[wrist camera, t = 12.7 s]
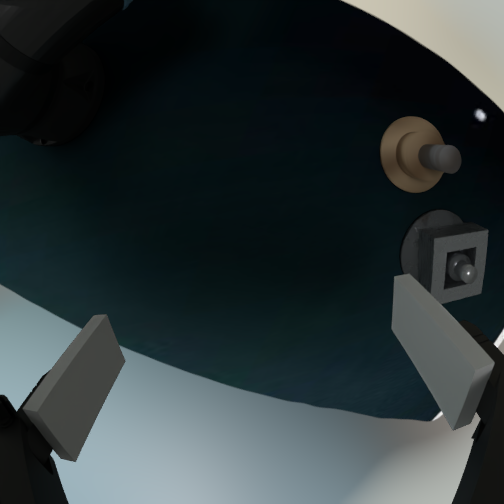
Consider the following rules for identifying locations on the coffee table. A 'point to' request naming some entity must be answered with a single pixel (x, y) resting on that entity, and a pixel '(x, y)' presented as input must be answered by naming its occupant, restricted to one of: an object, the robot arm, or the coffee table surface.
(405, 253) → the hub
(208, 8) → the coffee table surface
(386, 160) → the stand
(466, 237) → the collar
